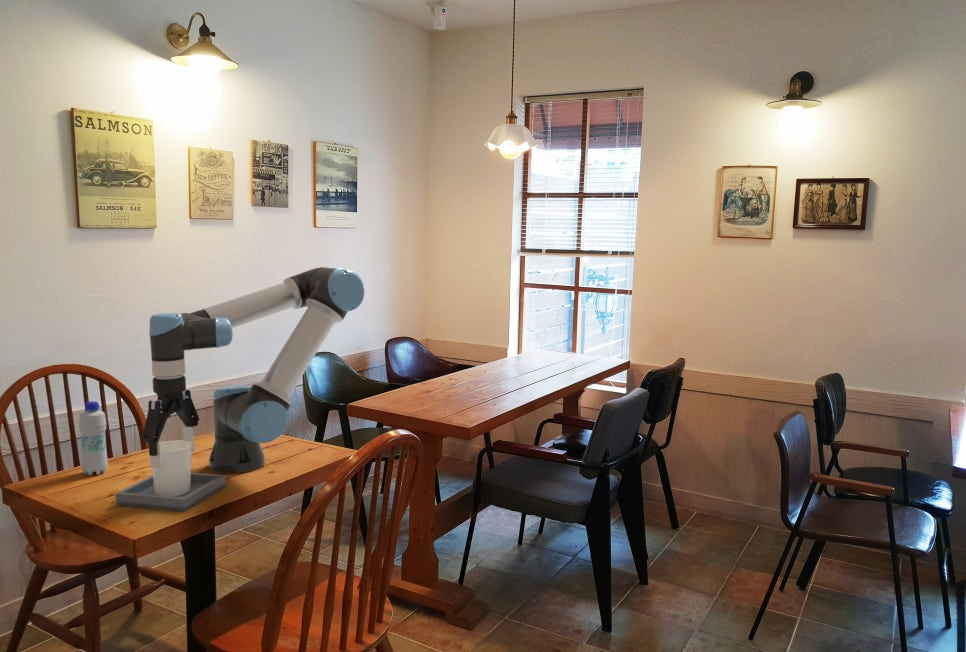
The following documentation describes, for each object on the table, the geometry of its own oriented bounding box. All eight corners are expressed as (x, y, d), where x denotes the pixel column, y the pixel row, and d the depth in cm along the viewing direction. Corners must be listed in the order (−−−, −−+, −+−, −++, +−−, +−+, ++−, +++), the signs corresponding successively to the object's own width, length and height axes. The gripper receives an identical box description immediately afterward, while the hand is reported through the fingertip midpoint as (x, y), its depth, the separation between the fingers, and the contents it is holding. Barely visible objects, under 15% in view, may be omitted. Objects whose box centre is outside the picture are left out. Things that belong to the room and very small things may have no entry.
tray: (162, 481, 194) (162, 470, 194) (225, 486, 191) (225, 475, 191) (115, 505, 176) (115, 493, 176) (184, 511, 173) (184, 499, 173)
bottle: (113, 469, 204) (110, 399, 201) (101, 477, 197) (98, 404, 195) (88, 469, 203) (85, 398, 201) (76, 476, 197) (72, 404, 194)
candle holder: (201, 486, 187) (200, 441, 186) (178, 500, 178) (176, 452, 176) (167, 483, 189) (165, 438, 188) (142, 496, 180) (140, 449, 178)
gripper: (184, 366, 193) (188, 444, 196) (121, 385, 169) (127, 474, 171) (210, 367, 192) (214, 445, 194) (150, 387, 167) (156, 476, 170)
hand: (173, 459), depth 183 cm, fingers open, 13 cm apart
